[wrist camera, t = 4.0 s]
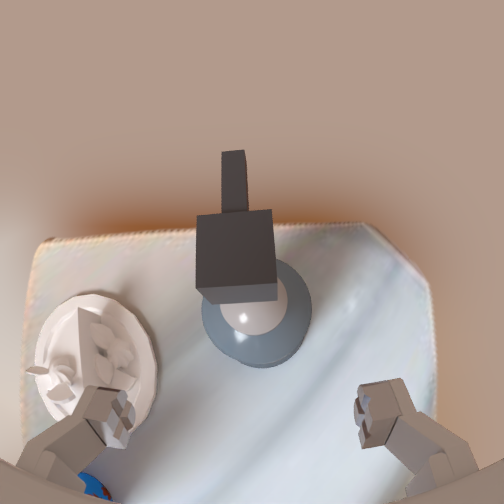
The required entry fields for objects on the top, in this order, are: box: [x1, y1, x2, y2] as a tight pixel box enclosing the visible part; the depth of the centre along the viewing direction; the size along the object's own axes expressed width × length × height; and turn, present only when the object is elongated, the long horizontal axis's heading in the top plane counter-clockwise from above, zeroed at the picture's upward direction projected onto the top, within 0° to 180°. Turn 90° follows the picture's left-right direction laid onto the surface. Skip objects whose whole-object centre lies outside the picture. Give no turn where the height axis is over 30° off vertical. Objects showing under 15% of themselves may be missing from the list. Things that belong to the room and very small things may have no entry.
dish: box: [26, 294, 158, 435], centre depth 38 cm, size 25×25×11 cm
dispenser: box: [202, 259, 312, 368], centre depth 36 cm, size 12×12×18 cm
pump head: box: [196, 150, 278, 305], centre depth 19 cm, size 8×4×6 cm, turn 3°
